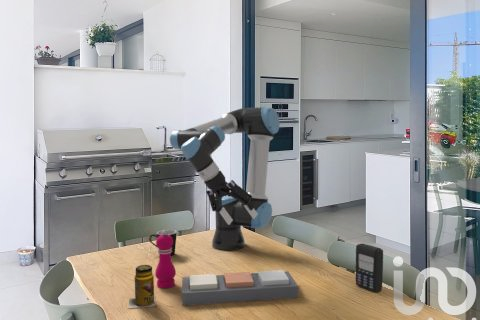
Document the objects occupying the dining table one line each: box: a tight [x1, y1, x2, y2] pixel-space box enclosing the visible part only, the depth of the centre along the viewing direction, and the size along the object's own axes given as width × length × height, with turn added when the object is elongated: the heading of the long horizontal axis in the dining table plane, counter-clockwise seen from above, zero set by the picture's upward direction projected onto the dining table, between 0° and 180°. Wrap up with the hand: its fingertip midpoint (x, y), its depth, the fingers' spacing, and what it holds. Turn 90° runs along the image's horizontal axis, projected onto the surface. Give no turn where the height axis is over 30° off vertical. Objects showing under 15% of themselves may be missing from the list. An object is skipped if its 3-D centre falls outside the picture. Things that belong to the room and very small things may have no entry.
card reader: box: [355, 243, 384, 293], centre depth 149 cm, size 9×4×15 cm, turn 37°
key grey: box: [257, 269, 289, 286], centre depth 148 cm, size 9×9×3 cm
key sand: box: [189, 273, 218, 290], centre depth 145 cm, size 9×9×3 cm
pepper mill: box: [154, 229, 176, 289], centre depth 154 cm, size 7×7×20 cm
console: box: [181, 270, 299, 306], centre depth 147 cm, size 14×38×4 cm, turn 97°
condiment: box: [128, 264, 157, 309], centre depth 140 cm, size 7×8×12 cm
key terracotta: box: [223, 271, 254, 288], centre depth 147 cm, size 9×9×3 cm
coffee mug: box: [148, 229, 178, 257], centre depth 190 cm, size 12×9×10 cm
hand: (242, 219), depth 165 cm, fingers open, 13 cm apart
